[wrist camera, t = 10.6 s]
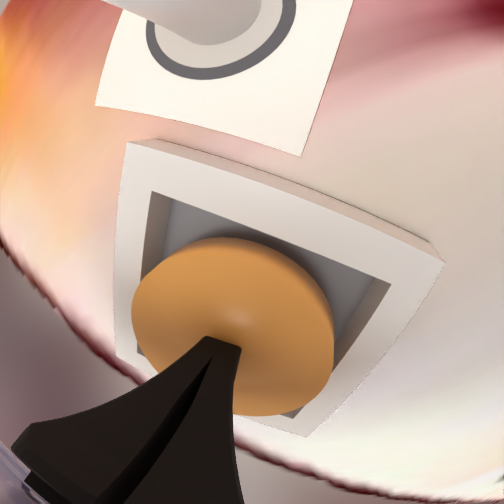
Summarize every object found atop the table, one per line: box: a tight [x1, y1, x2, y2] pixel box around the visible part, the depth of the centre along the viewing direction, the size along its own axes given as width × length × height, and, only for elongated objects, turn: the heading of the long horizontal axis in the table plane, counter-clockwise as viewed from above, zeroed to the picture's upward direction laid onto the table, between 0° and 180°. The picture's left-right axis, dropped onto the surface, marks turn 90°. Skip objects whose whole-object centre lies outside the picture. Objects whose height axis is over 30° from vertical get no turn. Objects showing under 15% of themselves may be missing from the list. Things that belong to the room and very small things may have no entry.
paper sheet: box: [95, 0, 353, 157], centre depth 8 cm, size 10×10×1 cm
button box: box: [113, 139, 445, 437], centre depth 12 cm, size 12×12×2 cm
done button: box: [131, 237, 334, 417], centre depth 11 cm, size 8×8×2 cm
